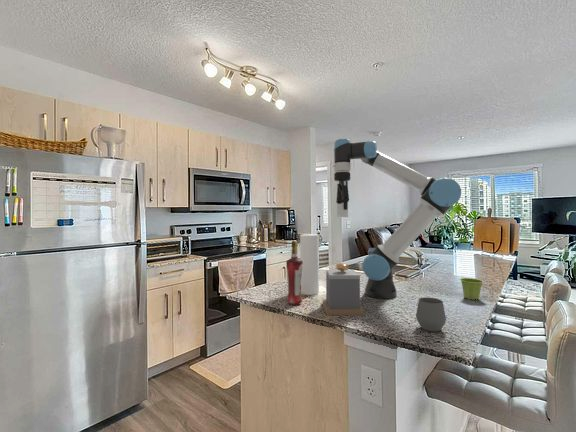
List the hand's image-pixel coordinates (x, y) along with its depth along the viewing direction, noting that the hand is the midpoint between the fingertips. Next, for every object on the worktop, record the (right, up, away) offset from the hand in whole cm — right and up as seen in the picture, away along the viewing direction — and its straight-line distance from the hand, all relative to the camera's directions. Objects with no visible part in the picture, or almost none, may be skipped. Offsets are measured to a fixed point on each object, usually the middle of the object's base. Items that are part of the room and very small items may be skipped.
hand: (342, 216), depth 145 cm
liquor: (-23, -39, -9) cm, 46 cm away
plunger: (-3, -36, -17) cm, 40 cm away
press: (-3, -39, -17) cm, 42 cm away
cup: (+24, -39, -39) cm, 60 cm away
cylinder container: (-15, -39, +10) cm, 43 cm away
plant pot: (+61, -39, -1) cm, 72 cm away
